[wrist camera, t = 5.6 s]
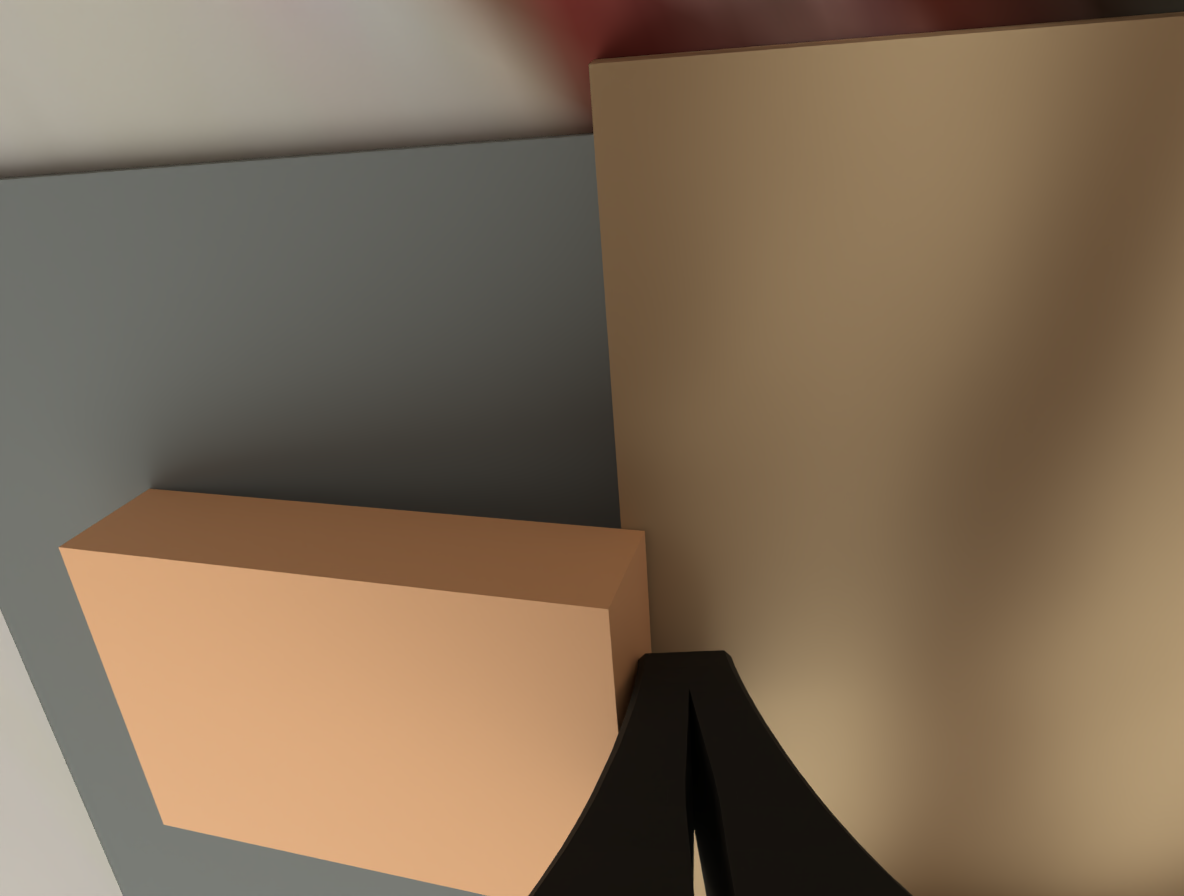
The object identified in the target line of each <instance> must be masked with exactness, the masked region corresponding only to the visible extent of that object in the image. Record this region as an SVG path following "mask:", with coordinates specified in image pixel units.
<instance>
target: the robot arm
mask: <svg viewBox="0 0 1184 896" xmlns="http://www.w3.org/2000/svg"><path fill="white" fill-rule="evenodd" d="M694 831H695V836H696V842H697V847H698V853H699V858H700V864H701V869H702V875H703V880H704V886H705V891H706V896H913V895H912V894H911V893H909V892H908V891H907V890H906V889H905V888H904V887H903V886H902V885H901V884H900V883H899V882H897V881H896V880H895V879H894V878H893V877H892V876H891V875H890V874H889V873H888V872H887V871H886V870H885V869H884V868H883V867H882V866H881V865H880V864H879V863H878V862H877V861H876V860H875V859H874V858H873V857H872V856H871V855H870V854H869V853H868V852H867V851H866V850H865V849H864V848H863V847H862V846H861V845H860V844H859V843H858V842H857V840H856V839H855V838H854V837H853V836H852V835H851V834H850V833H849V831H848V830H847V829H846V828H845V827H844V826H843V825H842V824H841V823H840V821H839V820H838V819H837V818H836V817H835V816H834V815H833V813H832V812H831V811H830V810H829V809H828V807H827V806H826V805H825V804H824V803H823V801H822V800H821V799H820V798H819V796H818V795H817V794H816V793H815V791H814V790H813V789H812V787H811V786H810V785H809V783H808V782H807V781H806V780H805V778H804V777H803V776H802V774H801V773H800V772H799V770H798V769H797V768H796V766H795V765H794V763H793V762H792V761H791V759H790V758H789V756H788V755H787V754H786V752H785V751H784V749H783V748H782V746H781V745H780V743H779V742H778V740H777V739H776V737H775V736H774V734H773V733H772V731H771V730H770V728H769V727H768V725H767V724H766V722H765V720H764V719H763V717H762V715H761V714H760V712H759V711H758V709H757V707H756V705H755V704H754V702H753V700H752V698H751V697H750V695H749V693H748V691H747V689H746V687H745V686H744V684H743V682H742V680H741V678H740V676H739V674H738V671H737V669H736V667H735V665H734V662H733V660H732V657H731V656H730V655H729V654H728V653H727V652H726V651H724V650H716V651H691V652H667V653H645V654H644V655H643V656H642V657H641V658H640V659H638V667H637V674H636V679H635V684H634V688H633V692H632V695H631V699H630V702H629V705H628V708H627V711H626V715H625V717H624V720H623V723H622V725H621V728H620V730H619V733H618V736H617V738H616V741H615V743H614V746H613V749H612V751H611V753H610V756H609V758H608V760H607V762H606V764H605V767H604V769H603V771H602V773H601V775H600V777H599V779H598V781H597V783H596V786H595V788H594V790H593V792H592V794H591V796H590V798H589V800H588V802H587V804H586V805H585V807H584V809H583V811H582V813H581V815H580V816H579V818H578V820H577V822H576V824H575V825H574V827H573V829H572V830H571V832H570V834H569V835H568V837H567V839H566V840H565V842H564V844H563V845H562V847H561V848H560V850H559V852H558V853H557V855H556V856H555V858H554V859H553V861H552V862H551V864H550V865H549V867H548V868H547V870H546V871H545V873H544V874H543V876H542V877H541V879H540V880H539V881H538V883H537V884H536V886H535V887H534V888H533V890H532V891H531V893H530V894H529V895H528V896H694Z"/></svg>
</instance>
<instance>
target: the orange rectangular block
mask: <svg viewBox="0 0 1184 896" xmlns="http://www.w3.org/2000/svg"><path fill="white" fill-rule="evenodd" d="M59 550H60V553H61V555H62V558H63V561H64V563H65V566H66V569H67V571H68V574H69V576H70V579H71V582H72V584H73V587H74V590H75V592H76V595H77V598H78V600H79V603H80V605H81V608H82V611H83V613H84V616H85V619H86V621H87V624H88V626H89V629H90V632H91V634H92V637H93V640H94V642H95V645H96V648H97V650H98V653H99V655H100V658H101V661H102V663H103V666H104V669H105V671H106V674H107V677H108V679H109V682H110V684H111V687H112V690H113V692H114V695H115V698H116V700H117V703H118V706H119V708H120V711H121V713H122V716H123V719H124V721H125V724H126V727H127V729H128V732H129V734H130V737H131V740H132V742H133V745H134V748H135V750H136V753H137V756H138V758H139V761H140V763H141V766H142V769H143V771H144V774H145V777H146V779H147V782H148V785H149V787H150V790H151V792H152V795H153V798H154V800H155V803H156V806H157V808H158V811H159V813H160V816H161V819H162V821H163V824H164V825H168V826H172V827H177V828H181V829H186V830H191V831H195V832H200V833H204V834H209V835H213V836H218V837H222V838H227V839H232V840H236V841H241V842H245V843H250V844H254V845H259V846H264V847H268V848H273V849H277V850H282V851H286V852H291V853H295V854H300V855H305V856H309V857H314V858H318V859H323V860H327V861H332V862H336V863H341V864H346V865H350V866H355V867H359V868H364V869H368V870H373V871H377V872H382V873H387V874H391V875H396V876H400V877H405V878H409V879H414V880H418V881H423V882H428V883H432V884H437V885H441V886H446V887H450V888H455V889H460V890H464V891H469V892H473V893H478V894H482V895H487V896H528V895H529V894H530V893H531V891H532V890H533V888H534V887H535V886H536V884H537V883H538V881H539V880H540V879H541V877H542V876H543V874H544V873H545V871H546V870H547V868H548V867H549V865H550V864H551V862H552V861H553V859H554V858H555V856H556V855H557V853H558V852H559V850H560V848H561V847H562V845H563V844H564V842H565V840H566V839H567V837H568V835H569V834H570V832H571V830H572V829H573V827H574V825H575V824H576V822H577V820H578V818H579V816H580V815H581V813H582V811H583V809H584V807H585V805H586V804H587V802H588V800H589V798H590V796H591V794H592V792H593V790H594V788H595V786H596V783H597V781H598V779H599V777H600V775H601V773H602V771H603V769H604V767H605V764H606V762H607V760H608V758H609V756H610V753H611V751H612V749H613V746H614V743H615V741H616V738H617V736H618V733H619V730H620V728H621V725H622V723H623V720H624V717H625V715H626V711H627V708H628V705H629V702H630V699H631V695H632V692H633V688H634V684H635V679H636V674H637V667H638V659H640V658H641V657H642V656H643V655H644V654H645V653H652V651H651V633H650V615H649V597H648V579H647V561H646V544H645V531H640V530H628V529H617V528H605V527H593V526H581V525H570V524H558V523H546V522H534V521H523V520H511V519H499V518H488V517H476V516H464V515H452V514H441V513H429V512H417V511H405V510H394V509H382V508H370V507H358V506H347V505H335V504H323V503H312V502H300V501H288V500H276V499H265V498H253V497H241V496H229V495H218V494H206V493H194V492H182V491H171V490H159V489H148V490H147V491H145V492H144V493H142V494H140V495H139V496H137V497H136V498H134V499H133V500H131V501H130V502H128V503H126V504H125V505H123V506H122V507H120V508H119V509H117V510H116V511H114V512H112V513H111V514H109V515H108V516H106V517H105V518H103V519H102V520H100V521H98V522H97V523H95V524H94V525H92V526H91V527H89V528H88V529H86V530H84V531H83V532H81V533H80V534H78V535H77V536H75V537H74V538H72V539H70V540H69V541H67V542H66V543H64V544H63V545H61V546H60V547H59Z"/></svg>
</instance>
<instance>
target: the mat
mask: <svg viewBox="0 0 1184 896" xmlns="http://www.w3.org/2000/svg"><path fill="white" fill-rule="evenodd" d="M148 489H159V490H171V491H182V492H194V493H206V494H218V495H229V496H241V497H253V498H265V499H276V500H288V501H300V502H312V503H323V504H335V505H347V506H358V507H370V508H382V509H394V510H405V511H417V512H429V513H441V514H452V515H464V516H476V517H488V518H499V519H511V520H523V521H534V522H546V523H558V524H570V525H581V526H593V527H605V528H617V529H621V518H620V504H619V490H618V476H617V461H616V447H615V433H614V419H613V404H612V390H611V376H610V362H609V347H608V333H607V319H606V305H605V290H604V276H603V262H602V248H601V233H600V219H599V205H598V191H597V176H596V162H595V148H594V134H593V133H587V134H574V135H561V136H548V137H535V138H522V139H509V140H495V141H482V142H469V143H456V144H443V145H430V146H417V147H404V148H390V149H377V150H364V151H351V152H338V153H325V154H312V155H298V156H285V157H272V158H259V159H246V160H233V161H220V162H207V163H193V164H180V165H167V166H154V167H141V168H128V169H115V170H101V171H88V172H75V173H62V174H49V175H36V176H23V177H10V178H0V609H1V612H2V614H3V616H4V619H5V621H6V623H7V626H8V628H9V630H10V633H11V635H12V637H13V640H14V642H15V644H16V647H17V649H18V651H19V654H20V656H21V658H22V661H23V663H24V665H25V668H26V670H27V672H28V675H29V677H30V679H31V682H32V684H33V686H34V689H35V691H36V693H37V696H38V698H39V700H40V703H41V705H42V707H43V710H44V712H45V714H46V717H47V719H48V721H49V724H50V726H51V728H52V731H53V733H54V736H55V738H56V740H57V743H58V745H59V747H60V750H61V752H62V754H63V757H64V759H65V761H66V764H67V766H68V768H69V771H70V773H71V775H72V778H73V780H74V782H75V785H76V787H77V789H78V792H79V794H80V796H81V799H82V801H83V803H84V806H85V808H86V810H87V813H88V815H89V817H90V820H91V822H92V824H93V827H94V829H95V831H96V834H97V836H98V838H99V841H100V843H101V845H102V848H103V850H104V852H105V855H106V857H107V859H108V862H109V864H110V866H111V869H112V871H113V873H114V876H115V878H116V880H117V883H118V885H119V887H120V890H121V892H122V894H123V896H487V895H482V894H478V893H473V892H469V891H464V890H460V889H455V888H450V887H446V886H441V885H437V884H432V883H428V882H423V881H418V880H414V879H409V878H405V877H400V876H396V875H391V874H387V873H382V872H377V871H373V870H368V869H364V868H359V867H355V866H350V865H346V864H341V863H336V862H332V861H327V860H323V859H318V858H314V857H309V856H305V855H300V854H295V853H291V852H286V851H282V850H277V849H273V848H268V847H264V846H259V845H254V844H250V843H245V842H241V841H236V840H232V839H227V838H222V837H218V836H213V835H209V834H204V833H200V832H195V831H191V830H186V829H181V828H177V827H172V826H168V825H164V824H163V821H162V819H161V816H160V813H159V811H158V808H157V806H156V803H155V800H154V798H153V795H152V792H151V790H150V787H149V785H148V782H147V779H146V777H145V774H144V771H143V769H142V766H141V763H140V761H139V758H138V756H137V753H136V750H135V748H134V745H133V742H132V740H131V737H130V734H129V732H128V729H127V727H126V724H125V721H124V719H123V716H122V713H121V711H120V708H119V706H118V703H117V700H116V698H115V695H114V692H113V690H112V687H111V684H110V682H109V679H108V677H107V674H106V671H105V669H104V666H103V663H102V661H101V658H100V655H99V653H98V650H97V648H96V645H95V642H94V640H93V637H92V634H91V632H90V629H89V626H88V624H87V621H86V619H85V616H84V613H83V611H82V608H81V605H80V603H79V600H78V598H77V595H76V592H75V590H74V587H73V584H72V582H71V579H70V576H69V574H68V571H67V569H66V566H65V563H64V561H63V558H62V555H61V553H60V550H59V547H60V546H61V545H63V544H64V543H66V542H67V541H69V540H70V539H72V538H74V537H75V536H77V535H78V534H80V533H81V532H83V531H84V530H86V529H88V528H89V527H91V526H92V525H94V524H95V523H97V522H98V521H100V520H102V519H103V518H105V517H106V516H108V515H109V514H111V513H112V512H114V511H116V510H117V509H119V508H120V507H122V506H123V505H125V504H126V503H128V502H130V501H131V500H133V499H134V498H136V497H137V496H139V495H140V494H142V493H144V492H145V491H147V490H148Z"/></svg>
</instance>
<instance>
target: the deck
mask: <svg viewBox="0 0 1184 896" xmlns="http://www.w3.org/2000/svg"><path fill="white" fill-rule="evenodd" d="M589 77H590V91H591V105H592V120H593V134H594V148H595V162H596V176H597V191H598V205H599V219H600V233H601V248H602V262H603V276H604V290H605V305H606V319H607V333H608V347H609V362H610V376H611V390H612V404H613V419H614V433H615V447H616V461H617V476H618V490H619V504H620V518H621V529H628V530H640V531H645V544H646V561H647V579H648V597H649V615H650V633H651V651H652V653H667V652H691V651H716V650H724V651H726V652H727V653H728V654H729V655H730V656H731V657H732V660H733V662H734V665H735V667H736V669H737V671H738V674H739V676H740V678H741V680H742V682H743V684H744V686H745V687H746V689H747V691H748V693H749V695H750V697H751V698H752V700H753V702H754V704H755V705H756V707H757V709H758V711H759V712H760V714H761V715H762V717H763V719H764V720H765V722H766V724H767V725H768V727H769V728H770V730H771V731H772V733H773V734H774V736H775V737H776V739H777V740H778V742H779V743H780V745H781V746H782V748H783V749H784V751H785V752H786V754H787V755H788V756H789V758H790V759H791V761H792V762H793V763H794V765H795V766H796V768H797V769H798V770H799V772H800V773H801V774H802V776H803V777H804V778H805V780H806V781H807V782H808V783H809V785H810V786H811V787H812V789H813V790H814V791H815V793H816V794H817V795H818V796H819V798H820V799H821V800H822V801H823V803H824V804H825V805H826V806H827V807H828V809H829V810H830V811H831V812H832V813H833V815H834V816H835V817H836V818H837V819H838V820H839V821H840V823H841V824H842V825H843V826H844V827H845V828H846V829H847V830H848V831H849V833H850V834H851V835H852V836H853V837H854V838H855V839H856V840H857V842H858V843H859V844H860V845H861V846H862V847H863V848H864V849H865V850H866V851H867V852H868V853H869V854H870V855H871V856H872V857H873V858H874V859H875V860H876V861H877V862H878V863H879V864H880V865H881V866H882V867H883V868H884V869H885V870H886V871H887V872H888V873H889V874H890V875H891V876H892V877H893V878H894V879H895V880H896V881H897V882H899V883H900V884H901V885H902V886H903V887H904V888H905V889H906V890H907V891H908V892H909V893H911V894H912V895H913V896H1184V12H1173V13H1160V14H1148V15H1136V16H1123V17H1111V18H1099V19H1087V20H1074V21H1062V22H1050V23H1037V24H1025V25H1013V26H1000V27H988V28H976V29H963V30H951V31H939V32H926V33H914V34H902V35H889V36H877V37H865V38H852V39H840V40H828V41H816V42H803V43H791V44H779V45H766V46H754V47H742V48H729V49H717V50H705V51H692V52H680V53H668V54H655V55H643V56H631V57H618V58H606V59H595V60H593V61H592V62H591V63H590V64H589ZM694 896H706V891H705V886H704V880H703V875H702V869H701V864H700V858H699V853H698V847H697V842H696V836H695V831H694Z"/></svg>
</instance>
